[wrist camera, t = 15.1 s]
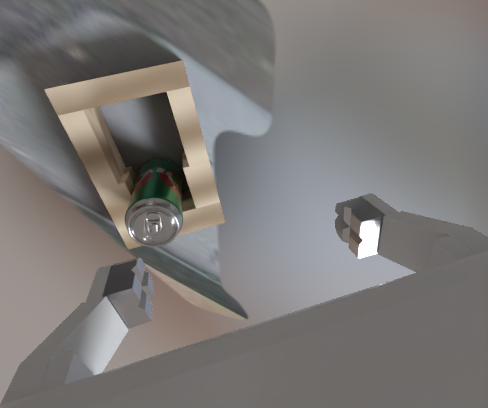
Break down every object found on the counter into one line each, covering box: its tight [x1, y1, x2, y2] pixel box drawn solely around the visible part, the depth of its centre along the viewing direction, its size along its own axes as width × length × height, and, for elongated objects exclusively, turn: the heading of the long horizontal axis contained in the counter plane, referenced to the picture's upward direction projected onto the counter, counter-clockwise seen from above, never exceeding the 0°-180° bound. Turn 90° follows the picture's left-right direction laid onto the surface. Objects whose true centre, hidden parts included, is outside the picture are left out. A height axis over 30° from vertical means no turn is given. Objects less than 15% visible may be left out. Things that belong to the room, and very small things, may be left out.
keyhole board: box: [44, 60, 225, 249], centre depth 30 cm, size 18×12×5 cm, turn 10°
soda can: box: [125, 158, 183, 247], centre depth 28 cm, size 5×5×12 cm
